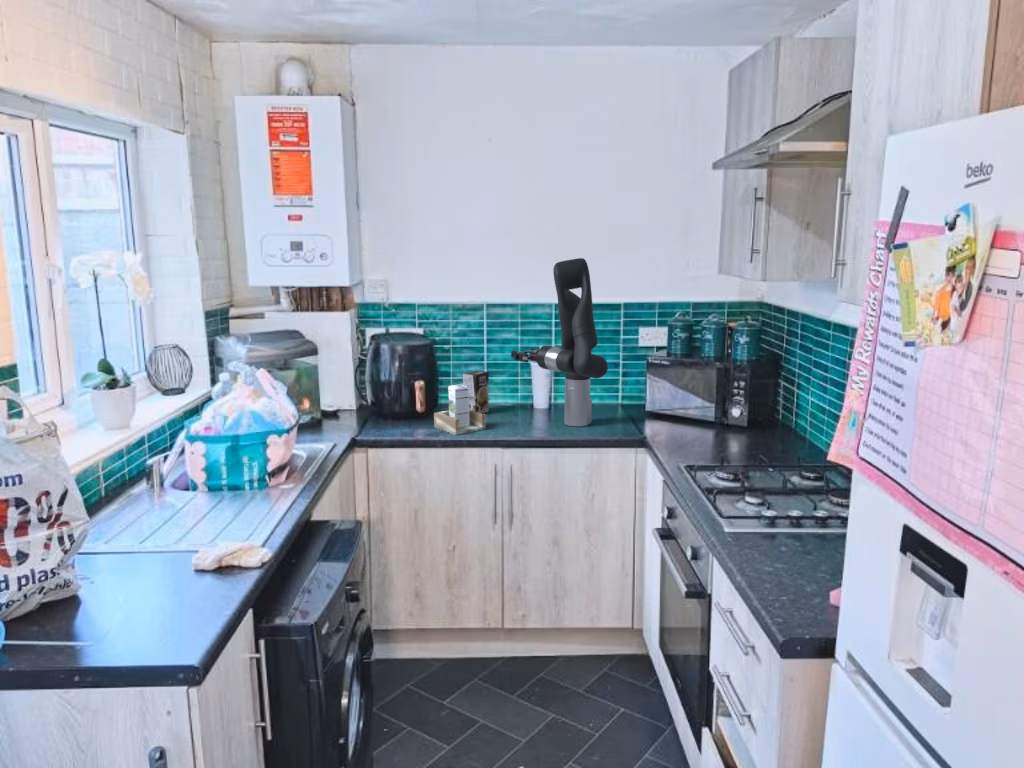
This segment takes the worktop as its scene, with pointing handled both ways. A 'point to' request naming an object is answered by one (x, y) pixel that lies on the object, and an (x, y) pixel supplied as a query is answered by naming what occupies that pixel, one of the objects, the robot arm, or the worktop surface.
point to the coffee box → (477, 390)
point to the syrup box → (459, 403)
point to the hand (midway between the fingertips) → (521, 352)
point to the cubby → (452, 424)
